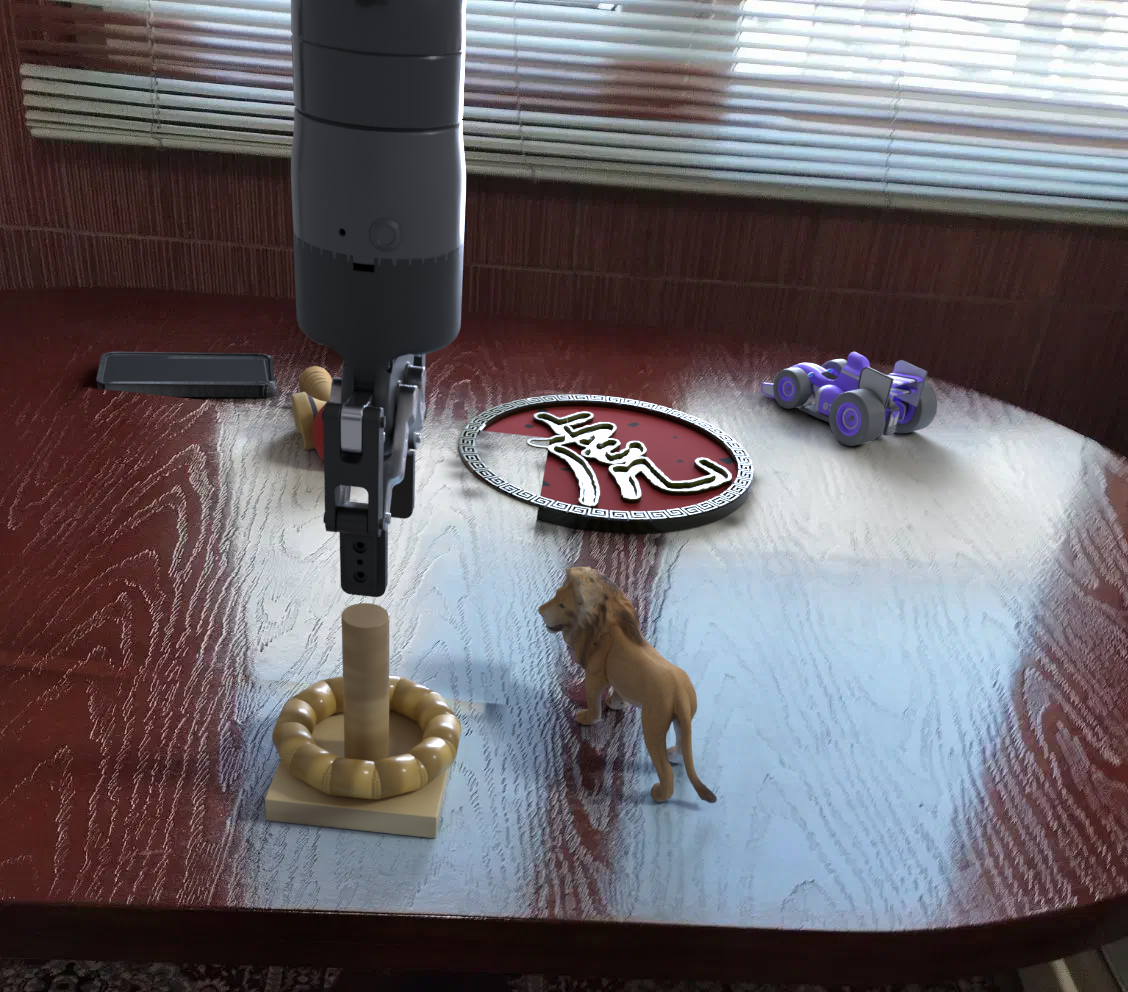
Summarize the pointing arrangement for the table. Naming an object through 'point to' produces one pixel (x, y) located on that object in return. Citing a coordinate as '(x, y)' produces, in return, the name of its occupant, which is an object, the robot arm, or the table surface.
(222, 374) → the phone
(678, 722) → the lion figurine
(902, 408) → the toy race car
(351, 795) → the ring
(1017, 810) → the table surface
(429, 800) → the post
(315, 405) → the kendama
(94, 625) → the table surface
